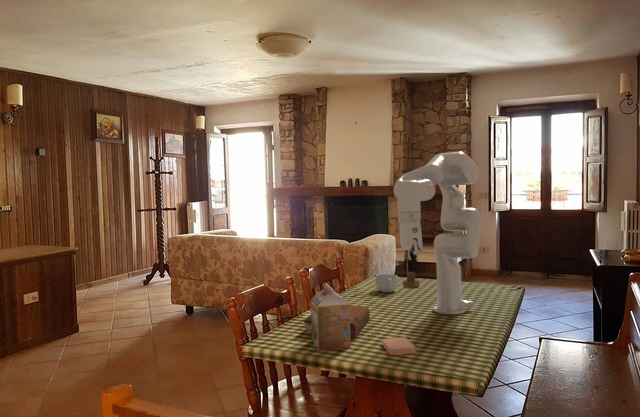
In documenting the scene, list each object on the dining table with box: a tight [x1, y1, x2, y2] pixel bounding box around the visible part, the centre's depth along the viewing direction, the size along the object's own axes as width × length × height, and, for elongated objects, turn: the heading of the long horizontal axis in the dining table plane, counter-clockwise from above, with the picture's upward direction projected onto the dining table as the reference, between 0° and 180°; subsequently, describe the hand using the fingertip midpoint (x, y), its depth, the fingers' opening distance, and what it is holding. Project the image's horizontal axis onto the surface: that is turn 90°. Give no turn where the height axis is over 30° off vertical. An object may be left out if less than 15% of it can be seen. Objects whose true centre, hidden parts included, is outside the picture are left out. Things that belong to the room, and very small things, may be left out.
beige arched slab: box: [303, 305, 370, 339], centre depth 172 cm, size 23×19×6 cm
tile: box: [381, 337, 417, 356], centre depth 147 cm, size 8×2×10 cm
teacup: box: [375, 273, 399, 293], centre depth 228 cm, size 14×11×8 cm
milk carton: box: [310, 283, 352, 352], centre depth 153 cm, size 11×11×19 cm
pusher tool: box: [402, 249, 420, 290], centre depth 159 cm, size 6×6×14 cm
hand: (410, 270), depth 159 cm, fingers closed on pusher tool, 2 cm apart
